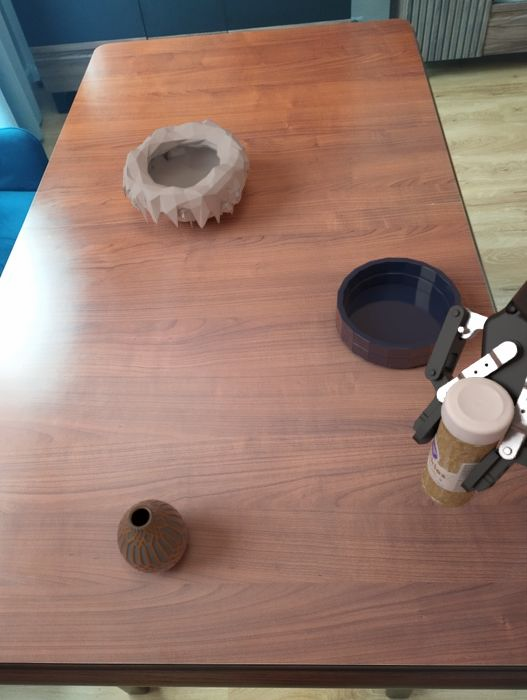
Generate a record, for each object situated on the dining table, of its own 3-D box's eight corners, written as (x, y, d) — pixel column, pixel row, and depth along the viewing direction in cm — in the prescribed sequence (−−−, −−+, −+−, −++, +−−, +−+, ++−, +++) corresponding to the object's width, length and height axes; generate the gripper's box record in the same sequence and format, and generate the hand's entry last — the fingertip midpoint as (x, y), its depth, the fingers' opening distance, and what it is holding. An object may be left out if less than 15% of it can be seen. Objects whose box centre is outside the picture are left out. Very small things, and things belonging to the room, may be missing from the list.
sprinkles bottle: (412, 467, 51) (434, 382, 40) (462, 454, 51) (496, 367, 41) (433, 516, 48) (462, 439, 38) (485, 502, 49) (529, 422, 38)
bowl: (279, 184, 98) (275, 130, 90) (212, 262, 88) (201, 209, 80) (179, 155, 106) (168, 103, 98) (108, 223, 96) (88, 171, 88)
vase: (139, 593, 60) (114, 566, 53) (121, 533, 64) (96, 500, 57) (201, 563, 61) (186, 533, 54) (180, 506, 65) (163, 471, 58)
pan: (475, 355, 74) (482, 333, 70) (356, 381, 73) (357, 360, 69) (429, 271, 83) (434, 247, 80) (323, 293, 82) (323, 270, 79)
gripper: (500, 209, 39) (355, 401, 45) (711, 339, 31) (502, 549, 37) (532, 233, 45) (399, 401, 51) (716, 348, 37) (534, 529, 43)
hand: (444, 463), depth 44 cm, fingers closed on sprinkles bottle, 4 cm apart
